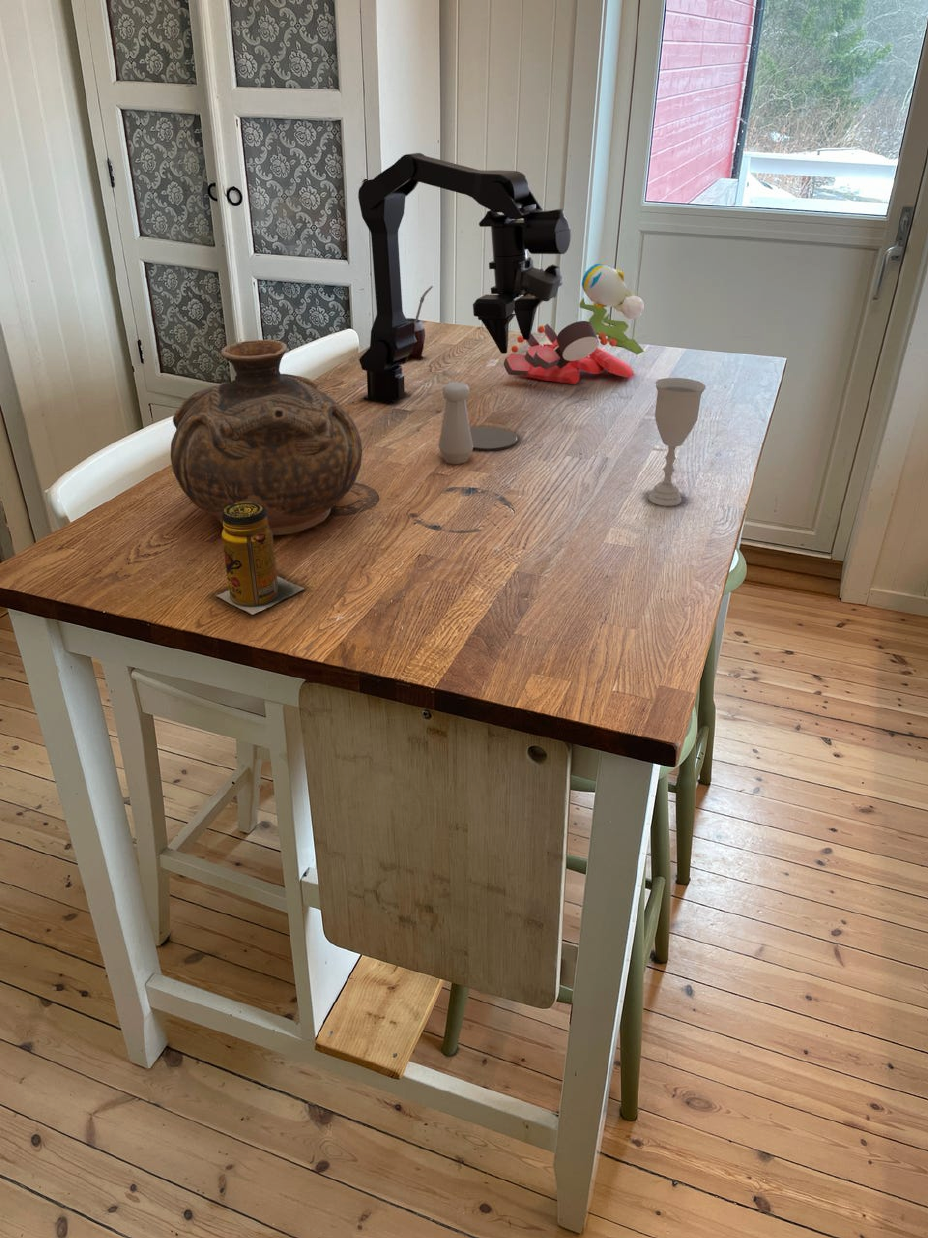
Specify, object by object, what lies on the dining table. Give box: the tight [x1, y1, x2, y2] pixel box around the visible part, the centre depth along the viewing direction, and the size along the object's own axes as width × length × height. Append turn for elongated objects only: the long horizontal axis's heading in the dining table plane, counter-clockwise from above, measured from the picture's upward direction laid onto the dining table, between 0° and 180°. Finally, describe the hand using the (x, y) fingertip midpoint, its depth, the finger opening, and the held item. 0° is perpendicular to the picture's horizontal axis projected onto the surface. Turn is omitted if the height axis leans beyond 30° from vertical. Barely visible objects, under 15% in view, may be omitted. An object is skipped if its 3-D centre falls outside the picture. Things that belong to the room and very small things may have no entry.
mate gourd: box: [406, 285, 434, 361], centre depth 207 cm, size 8×8×15 cm
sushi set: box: [503, 263, 645, 385], centre depth 195 cm, size 29×30×24 cm
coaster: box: [470, 425, 518, 452], centre depth 167 cm, size 11×11×1 cm
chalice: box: [648, 377, 707, 507], centre depth 141 cm, size 7×7×18 cm
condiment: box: [215, 502, 306, 616], centre depth 116 cm, size 7×8×12 cm
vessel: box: [170, 339, 363, 537], centre depth 133 cm, size 27×28×25 cm
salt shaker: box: [438, 381, 473, 465], centre depth 155 cm, size 6×6×13 cm
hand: (515, 346), depth 167 cm, fingers open, 9 cm apart
